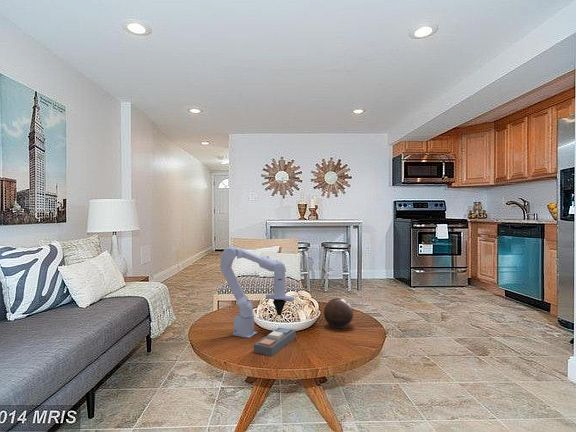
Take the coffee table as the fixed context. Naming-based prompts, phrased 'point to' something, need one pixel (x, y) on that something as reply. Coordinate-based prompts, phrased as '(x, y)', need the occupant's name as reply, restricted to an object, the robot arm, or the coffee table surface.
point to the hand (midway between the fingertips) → (279, 314)
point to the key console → (276, 346)
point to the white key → (275, 335)
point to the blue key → (284, 330)
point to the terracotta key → (267, 342)
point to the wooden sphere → (338, 313)
